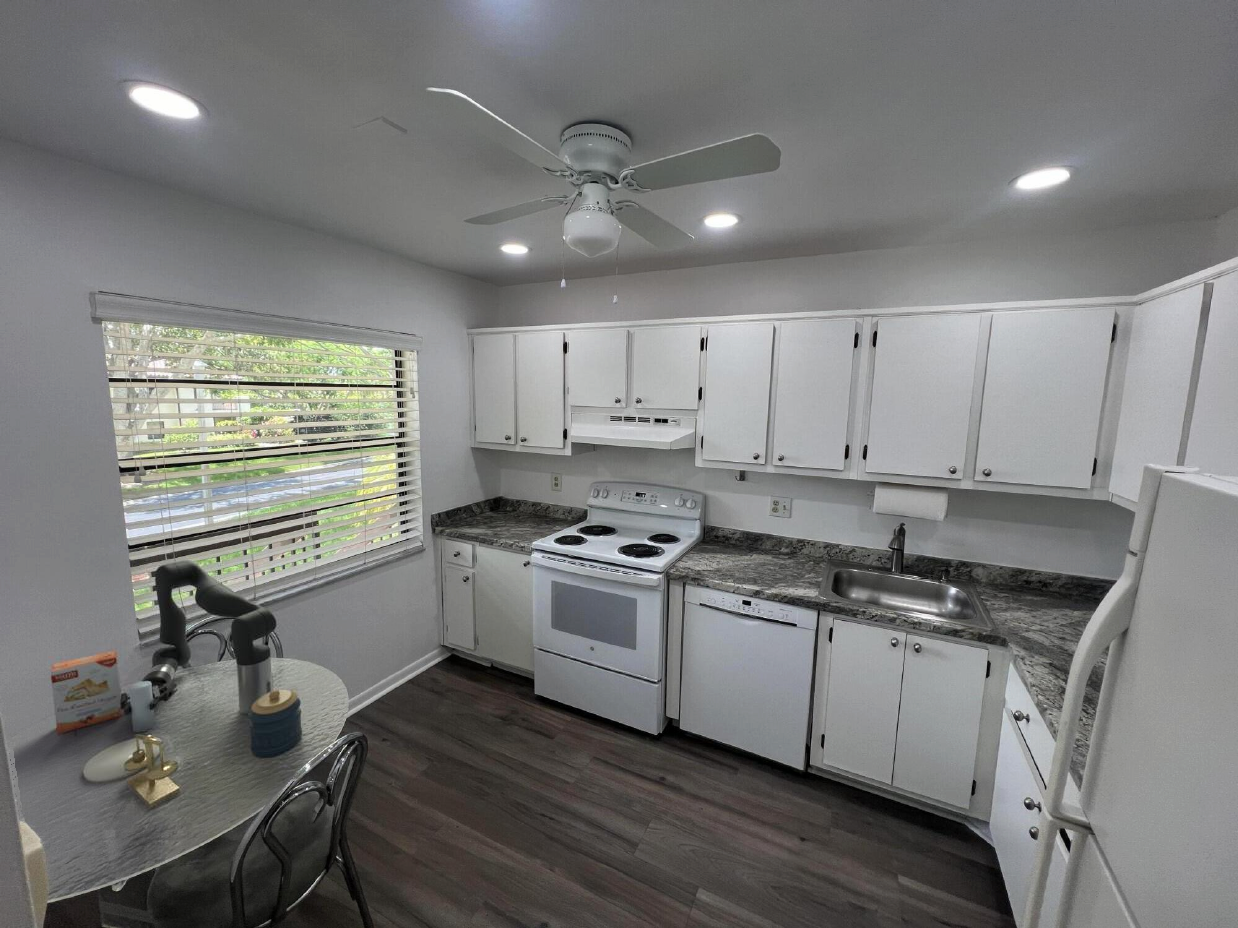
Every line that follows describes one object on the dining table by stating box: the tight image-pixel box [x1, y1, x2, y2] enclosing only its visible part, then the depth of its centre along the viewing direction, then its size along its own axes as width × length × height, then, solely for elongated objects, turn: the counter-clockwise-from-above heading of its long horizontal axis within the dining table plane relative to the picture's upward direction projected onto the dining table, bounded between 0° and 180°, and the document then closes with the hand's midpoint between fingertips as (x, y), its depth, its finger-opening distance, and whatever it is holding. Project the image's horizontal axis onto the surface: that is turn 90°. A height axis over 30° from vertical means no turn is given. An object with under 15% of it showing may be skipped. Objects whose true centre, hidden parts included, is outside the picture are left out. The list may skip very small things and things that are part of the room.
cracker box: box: [50, 650, 123, 735], centre depth 154 cm, size 14×6×21 cm, turn 133°
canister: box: [248, 689, 303, 759], centre depth 149 cm, size 13×13×18 cm
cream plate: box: [82, 736, 164, 784], centre depth 141 cm, size 16×16×2 cm
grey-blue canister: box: [128, 681, 156, 733], centre depth 154 cm, size 5×5×14 cm
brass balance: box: [124, 733, 180, 810], centre depth 131 cm, size 22×6×17 cm, turn 61°
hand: (139, 709), depth 151 cm, fingers closed on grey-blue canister, 5 cm apart
